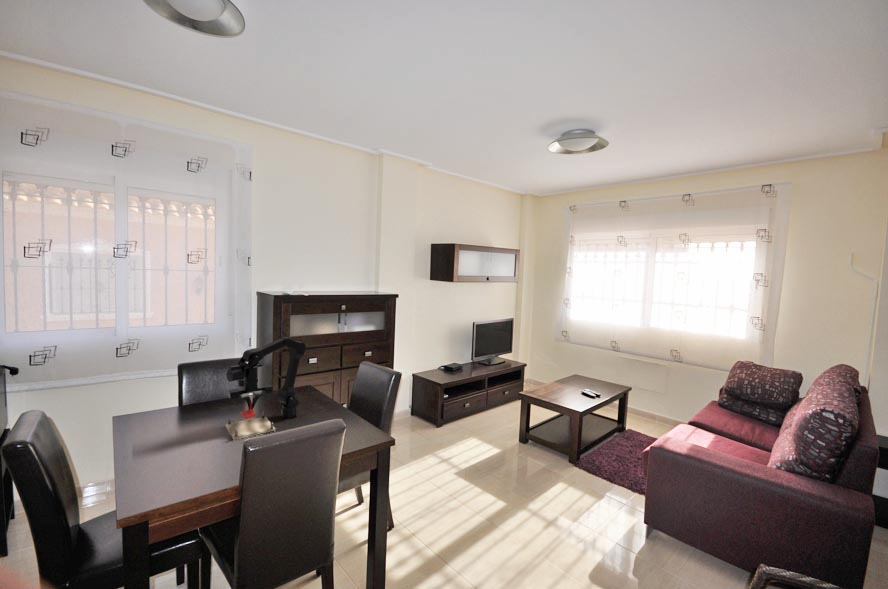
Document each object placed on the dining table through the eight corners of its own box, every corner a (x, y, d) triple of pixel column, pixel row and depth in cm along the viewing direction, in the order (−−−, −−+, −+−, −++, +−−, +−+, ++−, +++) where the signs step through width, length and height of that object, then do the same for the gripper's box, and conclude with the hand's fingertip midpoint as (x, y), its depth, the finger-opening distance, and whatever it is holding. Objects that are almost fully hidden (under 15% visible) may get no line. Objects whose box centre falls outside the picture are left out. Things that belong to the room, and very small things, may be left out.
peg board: (265, 419, 201) (265, 410, 201) (275, 431, 187) (275, 422, 187) (225, 426, 190) (225, 417, 190) (233, 440, 176) (233, 431, 176)
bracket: (240, 414, 192) (237, 398, 191) (250, 411, 194) (247, 395, 194) (245, 419, 182) (242, 402, 182) (256, 416, 185) (253, 399, 184)
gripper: (267, 370, 199) (267, 400, 200) (225, 375, 187) (225, 407, 189) (273, 375, 190) (273, 407, 191) (230, 381, 179) (230, 415, 180)
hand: (250, 408), depth 188 cm, fingers closed on bracket
